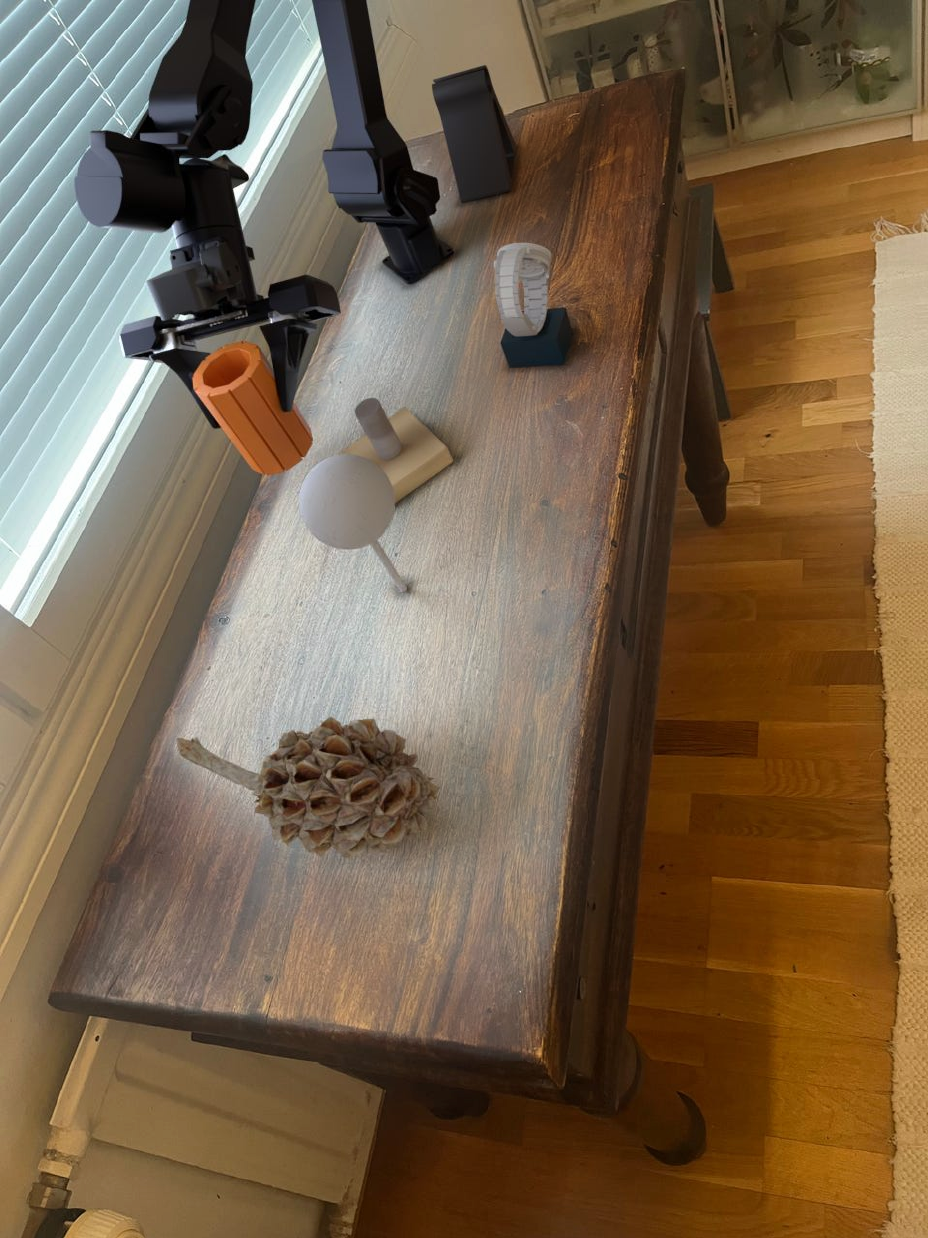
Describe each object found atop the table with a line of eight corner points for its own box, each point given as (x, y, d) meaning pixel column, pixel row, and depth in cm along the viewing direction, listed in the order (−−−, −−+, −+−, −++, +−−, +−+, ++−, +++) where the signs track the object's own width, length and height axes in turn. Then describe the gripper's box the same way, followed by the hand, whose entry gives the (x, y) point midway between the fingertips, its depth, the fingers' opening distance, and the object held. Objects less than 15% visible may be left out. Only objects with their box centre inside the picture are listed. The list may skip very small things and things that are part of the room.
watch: (577, 319, 91) (550, 220, 82) (560, 377, 87) (530, 280, 78) (522, 323, 93) (491, 227, 84) (504, 381, 89) (469, 286, 80)
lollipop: (454, 557, 78) (386, 434, 67) (426, 628, 75) (350, 511, 64) (382, 552, 82) (305, 433, 70) (352, 620, 78) (266, 506, 67)
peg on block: (345, 468, 89) (310, 412, 83) (412, 421, 90) (383, 362, 84) (383, 512, 84) (349, 456, 78) (454, 461, 85) (426, 402, 79)
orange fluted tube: (239, 452, 88) (181, 373, 80) (296, 412, 89) (244, 330, 81) (265, 486, 84) (207, 407, 76) (324, 444, 85) (272, 361, 77)
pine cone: (475, 764, 67) (429, 698, 59) (439, 895, 62) (383, 842, 55) (227, 733, 76) (158, 672, 68) (179, 845, 71) (99, 794, 63)
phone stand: (510, 192, 106) (480, 89, 97) (461, 204, 108) (426, 103, 99) (517, 148, 111) (488, 45, 102) (470, 160, 113) (437, 60, 104)
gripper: (56, 248, 74) (106, 443, 77) (264, 184, 69) (311, 395, 71) (137, 269, 85) (178, 440, 87) (322, 215, 80) (361, 398, 82)
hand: (251, 420), depth 82 cm, fingers closed on orange fluted tube, 6 cm apart
